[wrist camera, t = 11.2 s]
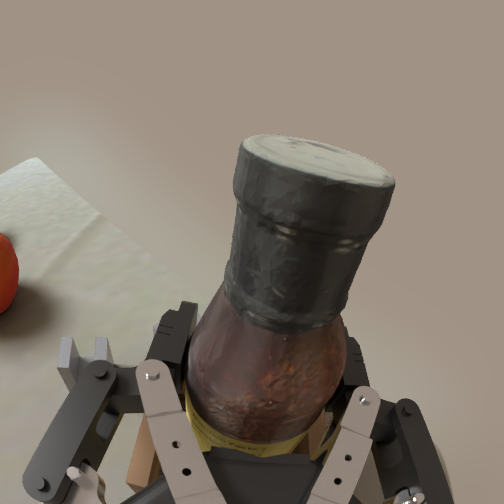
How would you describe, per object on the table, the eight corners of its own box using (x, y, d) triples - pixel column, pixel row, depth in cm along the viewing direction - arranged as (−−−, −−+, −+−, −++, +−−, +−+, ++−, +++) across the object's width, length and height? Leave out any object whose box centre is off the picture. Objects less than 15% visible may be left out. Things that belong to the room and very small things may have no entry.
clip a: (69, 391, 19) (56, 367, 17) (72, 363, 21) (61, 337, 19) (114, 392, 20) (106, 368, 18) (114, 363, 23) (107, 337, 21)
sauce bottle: (239, 405, 21) (316, 131, 11) (292, 461, 18) (461, 194, 8) (166, 442, 17) (163, 120, 7) (219, 510, 13) (376, 215, 3)
